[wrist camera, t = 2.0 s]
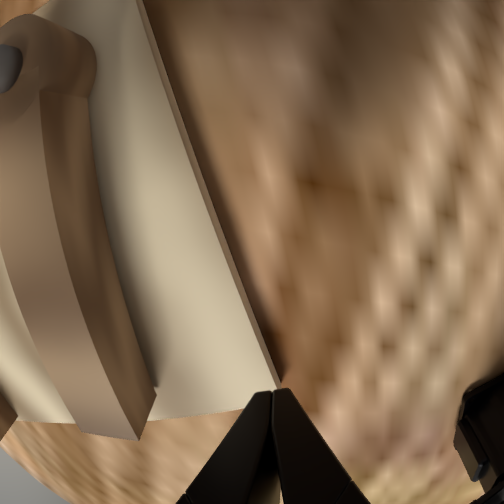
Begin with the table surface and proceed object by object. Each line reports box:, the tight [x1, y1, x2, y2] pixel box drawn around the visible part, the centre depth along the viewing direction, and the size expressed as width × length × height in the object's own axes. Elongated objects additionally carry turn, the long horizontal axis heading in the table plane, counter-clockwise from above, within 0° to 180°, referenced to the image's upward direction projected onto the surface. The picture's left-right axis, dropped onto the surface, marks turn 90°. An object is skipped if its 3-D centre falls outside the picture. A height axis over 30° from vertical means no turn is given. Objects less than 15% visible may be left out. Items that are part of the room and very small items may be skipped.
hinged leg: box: [0, 14, 157, 441], centre depth 10 cm, size 16×4×4 cm, turn 7°
